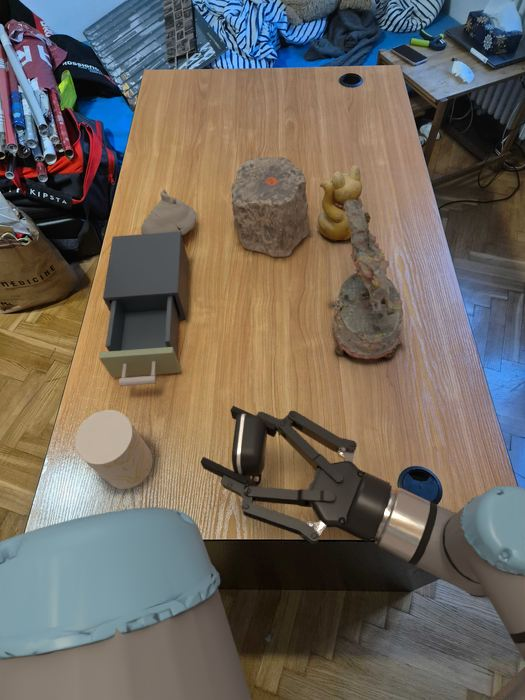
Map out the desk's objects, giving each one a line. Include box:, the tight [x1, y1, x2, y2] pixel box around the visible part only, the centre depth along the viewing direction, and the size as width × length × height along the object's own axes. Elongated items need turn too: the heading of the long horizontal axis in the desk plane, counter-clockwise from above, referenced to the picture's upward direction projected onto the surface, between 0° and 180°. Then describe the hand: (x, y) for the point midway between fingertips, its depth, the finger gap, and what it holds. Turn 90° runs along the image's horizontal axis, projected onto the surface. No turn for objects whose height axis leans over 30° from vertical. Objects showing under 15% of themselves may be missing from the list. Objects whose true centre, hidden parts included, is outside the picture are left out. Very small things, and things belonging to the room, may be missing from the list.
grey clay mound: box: [140, 188, 198, 236], centre depth 101 cm, size 12×12×11 cm
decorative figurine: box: [316, 164, 363, 243], centre depth 96 cm, size 10×8×15 cm
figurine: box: [331, 200, 404, 360], centre depth 79 cm, size 20×13×25 cm, turn 177°
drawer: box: [99, 295, 182, 387], centre depth 84 cm, size 19×12×7 cm, turn 3°
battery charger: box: [231, 414, 268, 487], centre depth 62 cm, size 7×4×11 cm, turn 175°
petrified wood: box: [231, 156, 311, 258], centre depth 98 cm, size 19×17×15 cm
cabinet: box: [102, 231, 189, 322], centre depth 92 cm, size 16×14×9 cm
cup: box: [74, 409, 154, 490], centre depth 71 cm, size 8×8×12 cm
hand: (218, 436), depth 63 cm, fingers closed on battery charger, 7 cm apart
